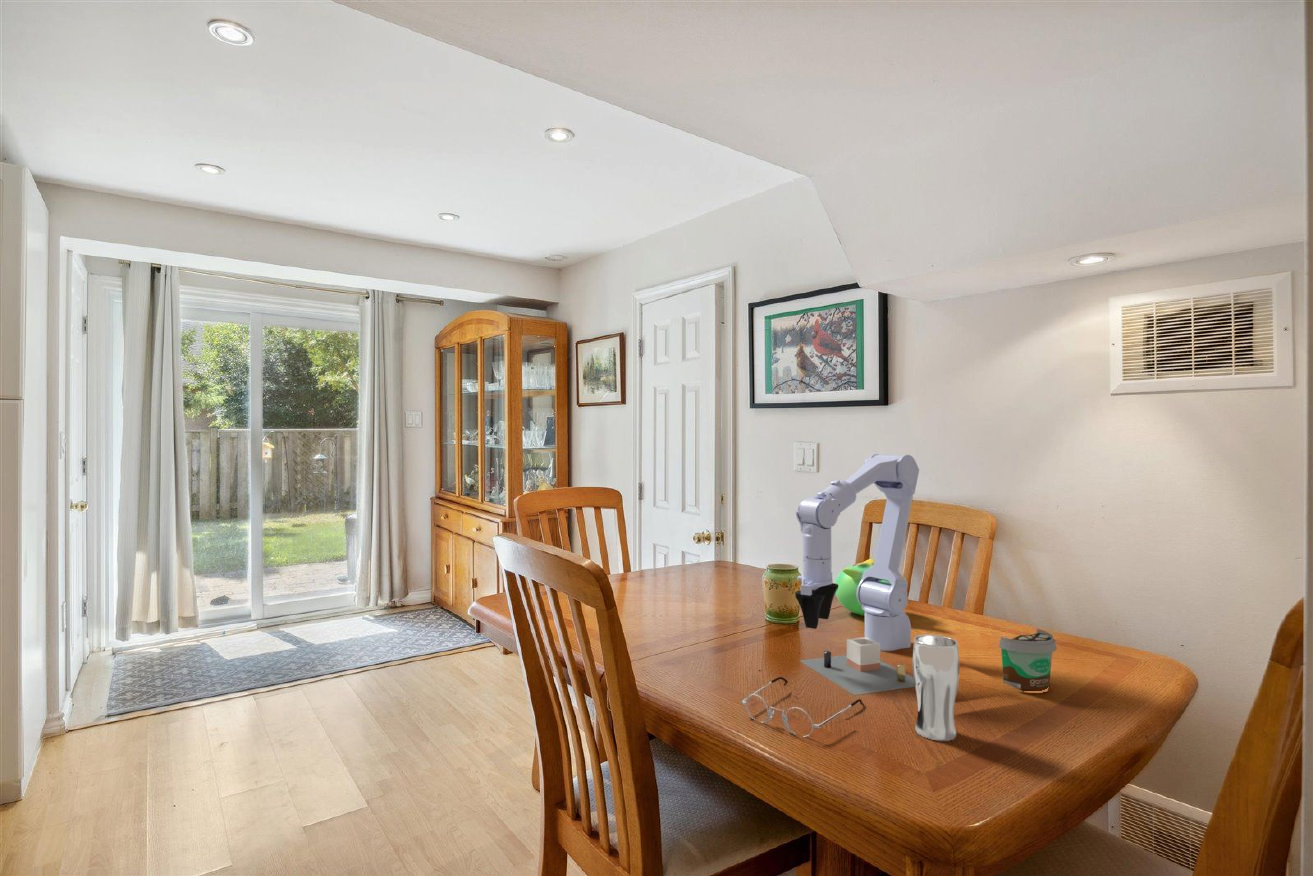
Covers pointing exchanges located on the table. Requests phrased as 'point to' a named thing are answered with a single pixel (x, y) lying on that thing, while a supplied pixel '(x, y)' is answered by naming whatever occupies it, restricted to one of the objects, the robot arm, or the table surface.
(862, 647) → the sleeve
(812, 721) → the eyeglasses
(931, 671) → the beer glass
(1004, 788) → the table surface
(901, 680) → the brass pin
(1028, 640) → the food container
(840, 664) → the pin board
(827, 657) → the black pin
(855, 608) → the toy bird
